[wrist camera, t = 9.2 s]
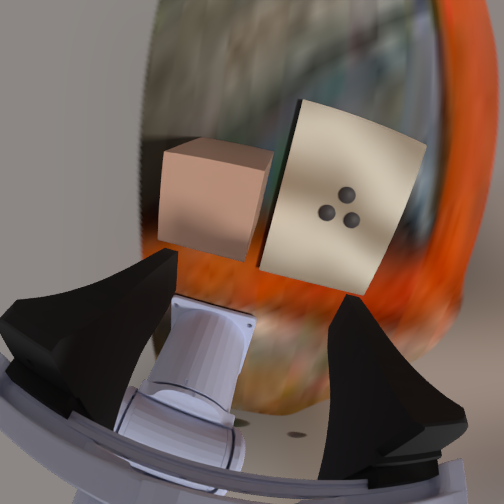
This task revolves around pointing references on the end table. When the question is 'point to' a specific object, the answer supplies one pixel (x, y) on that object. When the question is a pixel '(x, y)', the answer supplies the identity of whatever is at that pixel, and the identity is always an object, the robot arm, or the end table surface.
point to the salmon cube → (212, 195)
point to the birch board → (339, 198)
